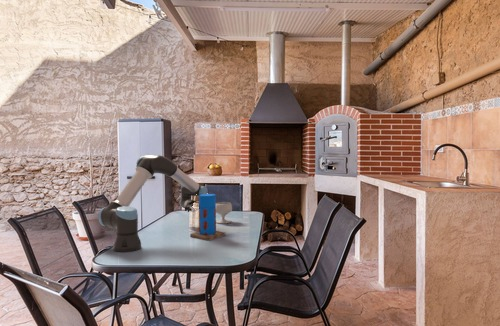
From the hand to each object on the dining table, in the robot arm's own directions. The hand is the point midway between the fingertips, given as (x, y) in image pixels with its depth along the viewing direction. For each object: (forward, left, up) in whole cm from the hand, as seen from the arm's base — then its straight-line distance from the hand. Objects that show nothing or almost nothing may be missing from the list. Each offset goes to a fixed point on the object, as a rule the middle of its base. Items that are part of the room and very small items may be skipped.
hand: (203, 209), depth 232 cm
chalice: (+36, +15, -17) cm, 43 cm away
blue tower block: (-3, -6, -15) cm, 16 cm away
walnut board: (-3, -7, -17) cm, 18 cm away
